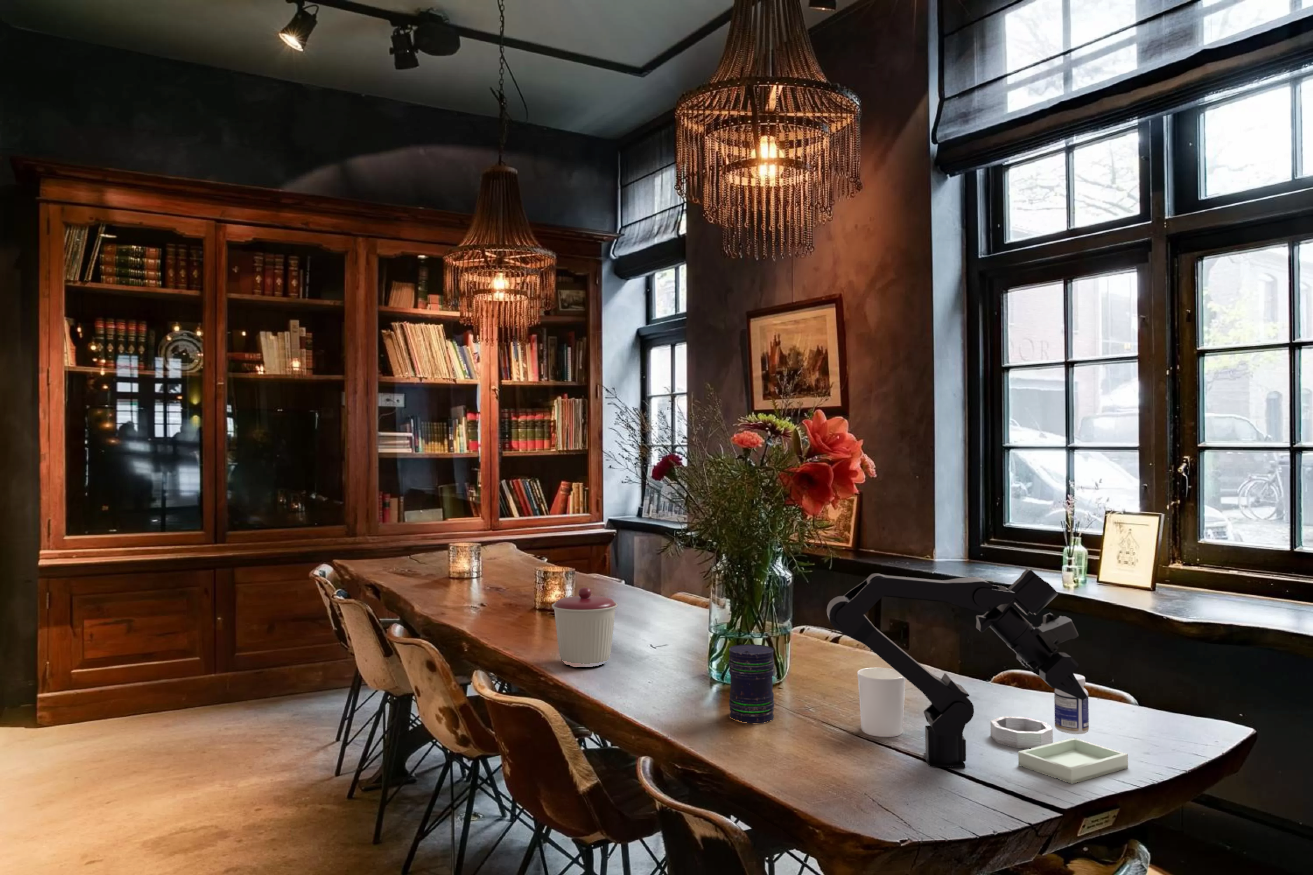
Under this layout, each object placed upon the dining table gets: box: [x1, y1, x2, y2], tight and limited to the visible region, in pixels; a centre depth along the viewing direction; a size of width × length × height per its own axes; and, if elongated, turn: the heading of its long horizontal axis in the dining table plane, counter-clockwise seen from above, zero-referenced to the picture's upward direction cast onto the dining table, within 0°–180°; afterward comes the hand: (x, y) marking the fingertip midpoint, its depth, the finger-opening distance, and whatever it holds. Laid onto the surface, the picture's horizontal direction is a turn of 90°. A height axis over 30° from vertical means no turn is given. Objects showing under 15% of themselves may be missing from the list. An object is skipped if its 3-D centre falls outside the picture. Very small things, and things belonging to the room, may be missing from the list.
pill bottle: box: [1053, 673, 1090, 735], centre depth 165 cm, size 6×6×10 cm
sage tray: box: [1017, 737, 1129, 785], centre depth 165 cm, size 16×11×2 cm
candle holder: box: [856, 667, 907, 738], centre depth 187 cm, size 10×10×12 cm
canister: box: [551, 586, 619, 664], centre depth 247 cm, size 18×18×21 cm
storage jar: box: [728, 643, 775, 724], centre depth 197 cm, size 10×10×15 cm
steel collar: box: [989, 716, 1054, 749], centre depth 181 cm, size 11×11×3 cm
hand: (1079, 693), depth 165 cm, fingers closed on pill bottle, 6 cm apart
